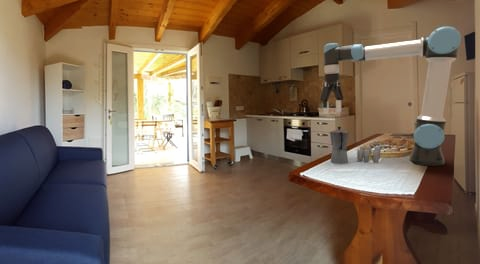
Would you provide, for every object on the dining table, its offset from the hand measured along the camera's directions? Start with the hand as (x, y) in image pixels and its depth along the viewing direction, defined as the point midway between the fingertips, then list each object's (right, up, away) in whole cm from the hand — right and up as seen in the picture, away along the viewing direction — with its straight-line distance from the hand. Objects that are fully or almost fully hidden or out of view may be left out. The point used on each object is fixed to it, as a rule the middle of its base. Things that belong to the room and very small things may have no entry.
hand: (332, 112), depth 160 cm
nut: (+19, -25, -1) cm, 32 cm away
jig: (+20, -26, -1) cm, 33 cm away
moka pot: (+3, -28, -3) cm, 28 cm away
